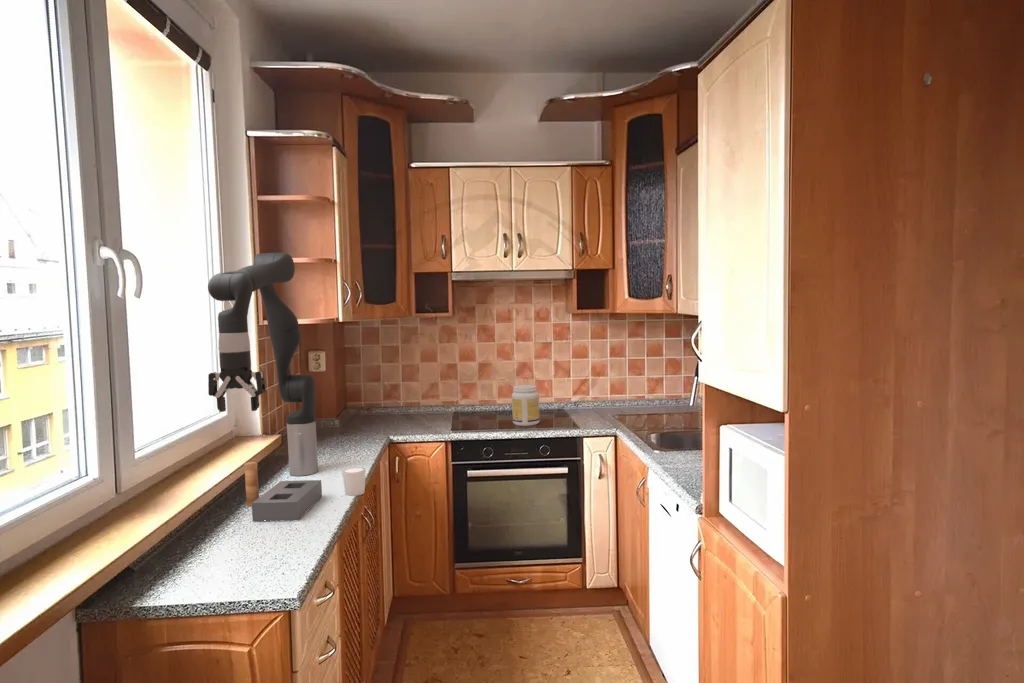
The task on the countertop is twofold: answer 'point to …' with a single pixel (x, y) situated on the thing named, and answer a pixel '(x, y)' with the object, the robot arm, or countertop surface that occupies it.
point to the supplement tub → (525, 405)
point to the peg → (251, 482)
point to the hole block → (287, 500)
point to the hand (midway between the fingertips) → (238, 411)
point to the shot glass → (354, 481)
